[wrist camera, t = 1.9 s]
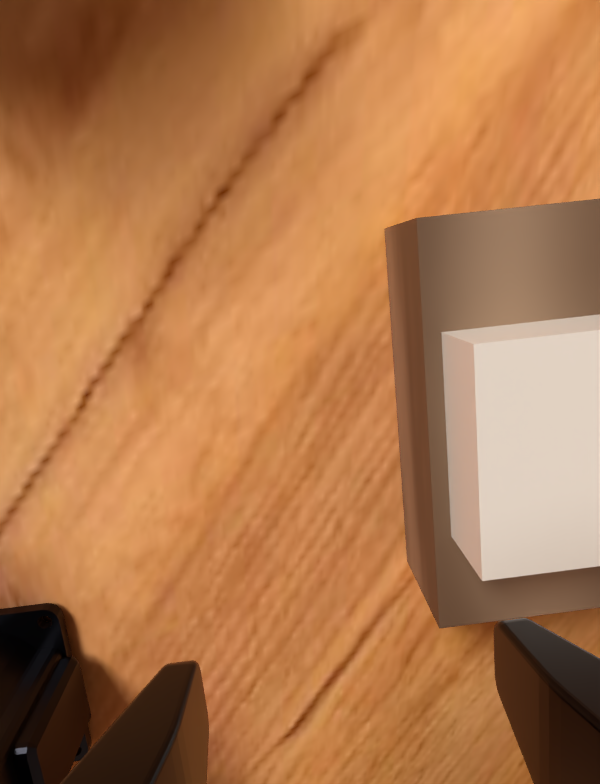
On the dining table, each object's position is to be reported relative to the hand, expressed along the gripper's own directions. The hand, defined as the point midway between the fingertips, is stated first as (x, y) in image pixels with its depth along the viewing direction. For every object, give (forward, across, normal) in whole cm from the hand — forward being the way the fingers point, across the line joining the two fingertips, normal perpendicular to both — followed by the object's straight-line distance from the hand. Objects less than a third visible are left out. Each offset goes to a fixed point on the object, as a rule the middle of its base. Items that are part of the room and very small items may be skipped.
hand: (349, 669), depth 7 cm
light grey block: (+7, -8, 0) cm, 11 cm away
